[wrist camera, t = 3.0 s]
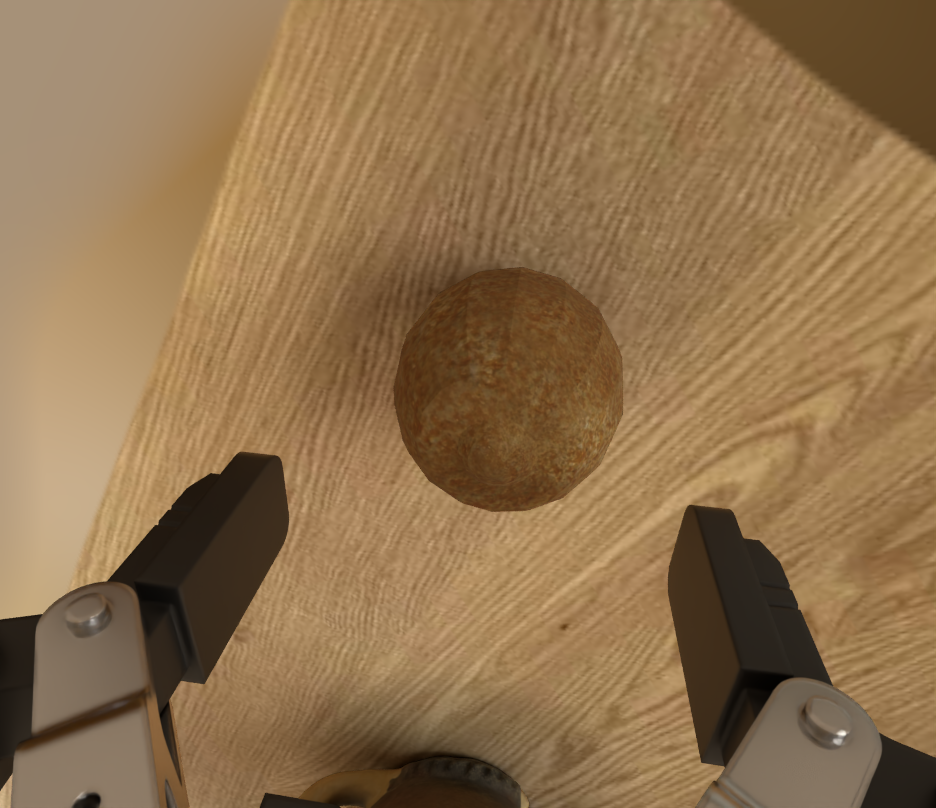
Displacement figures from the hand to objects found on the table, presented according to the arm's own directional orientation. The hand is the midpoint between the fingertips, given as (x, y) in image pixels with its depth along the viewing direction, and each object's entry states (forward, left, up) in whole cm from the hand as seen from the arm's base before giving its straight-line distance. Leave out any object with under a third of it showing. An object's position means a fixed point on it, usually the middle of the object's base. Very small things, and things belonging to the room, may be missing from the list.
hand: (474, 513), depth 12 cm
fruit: (0, 0, -10) cm, 10 cm away
